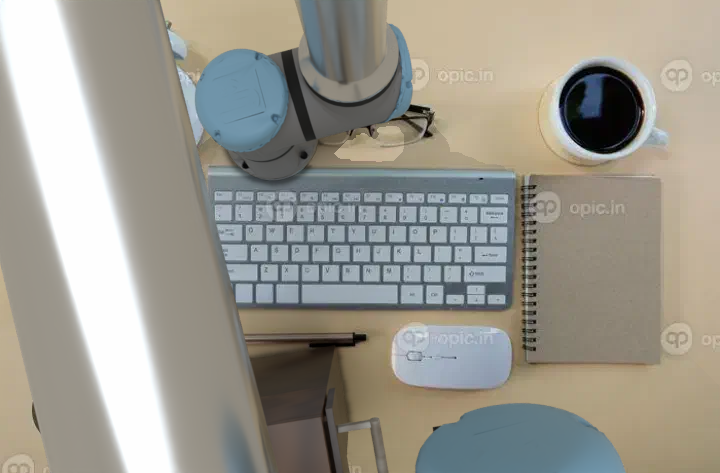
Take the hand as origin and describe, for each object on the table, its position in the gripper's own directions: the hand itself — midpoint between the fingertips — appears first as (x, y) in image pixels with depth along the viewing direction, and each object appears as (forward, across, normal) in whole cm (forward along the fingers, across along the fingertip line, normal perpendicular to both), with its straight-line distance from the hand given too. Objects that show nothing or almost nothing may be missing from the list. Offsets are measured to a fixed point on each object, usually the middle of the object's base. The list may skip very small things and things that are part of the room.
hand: (445, 431), depth 51 cm
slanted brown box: (+27, +2, -20) cm, 34 cm away
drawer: (+6, +2, -17) cm, 18 cm away
